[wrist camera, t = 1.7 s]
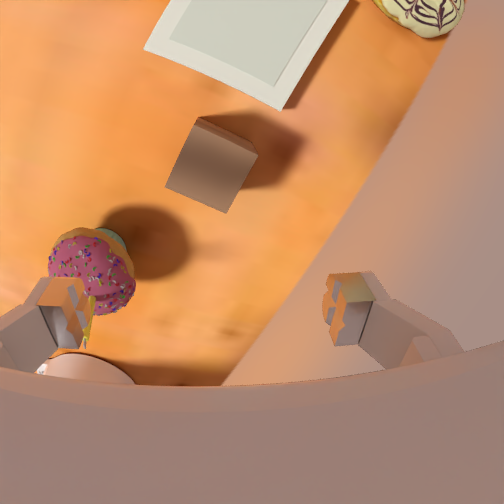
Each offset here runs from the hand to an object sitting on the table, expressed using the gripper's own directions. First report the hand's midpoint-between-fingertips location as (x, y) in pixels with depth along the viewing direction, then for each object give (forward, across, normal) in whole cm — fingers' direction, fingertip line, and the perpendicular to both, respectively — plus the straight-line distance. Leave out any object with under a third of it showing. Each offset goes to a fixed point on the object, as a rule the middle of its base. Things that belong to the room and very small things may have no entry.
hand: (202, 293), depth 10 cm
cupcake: (+19, +11, +9) cm, 24 cm away
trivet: (+19, -3, -12) cm, 22 cm away
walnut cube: (+19, 0, 0) cm, 19 cm away
